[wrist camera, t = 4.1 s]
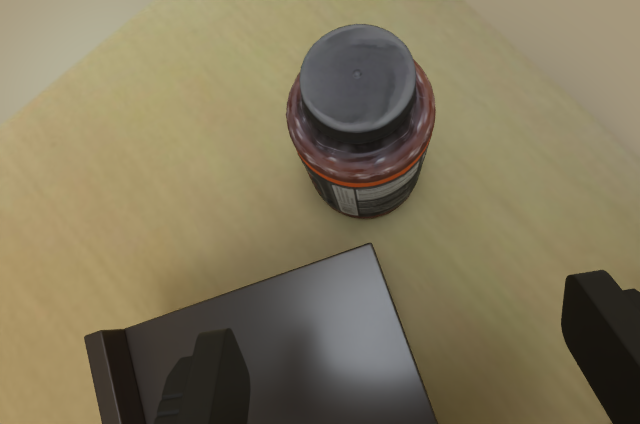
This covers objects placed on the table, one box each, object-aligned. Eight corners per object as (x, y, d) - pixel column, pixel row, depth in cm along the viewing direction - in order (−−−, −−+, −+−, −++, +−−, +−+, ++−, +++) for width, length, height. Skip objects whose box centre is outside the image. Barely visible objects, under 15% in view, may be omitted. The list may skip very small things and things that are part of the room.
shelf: (372, 257, 26) (370, 234, 19) (442, 449, 24) (472, 511, 16) (165, 330, 27) (82, 336, 19) (214, 524, 24) (142, 618, 17)
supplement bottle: (303, 131, 28) (257, 15, 17) (405, 109, 28) (424, -25, 17) (322, 231, 27) (285, 173, 16) (429, 209, 27) (467, 135, 16)
